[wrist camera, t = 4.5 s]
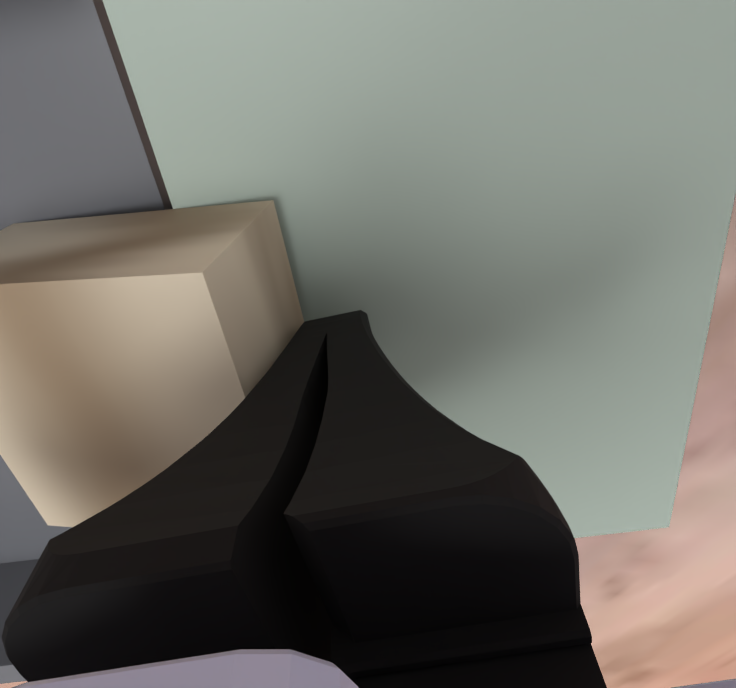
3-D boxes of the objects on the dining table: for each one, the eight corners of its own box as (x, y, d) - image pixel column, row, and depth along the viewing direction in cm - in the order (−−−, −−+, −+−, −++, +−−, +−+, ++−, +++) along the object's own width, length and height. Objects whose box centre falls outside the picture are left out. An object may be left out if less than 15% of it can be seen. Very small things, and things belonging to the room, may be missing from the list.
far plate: (756, -199, 9) (819, -227, 8) (646, 488, 18) (669, 527, 17) (107, -79, 10) (72, -88, 9) (299, 530, 18) (295, 570, 17)
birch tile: (273, 199, 11) (202, 272, 8) (334, 440, 14) (295, 544, 11) (13, 223, 12) (-110, 290, 10) (121, 435, 15) (47, 525, 13)
